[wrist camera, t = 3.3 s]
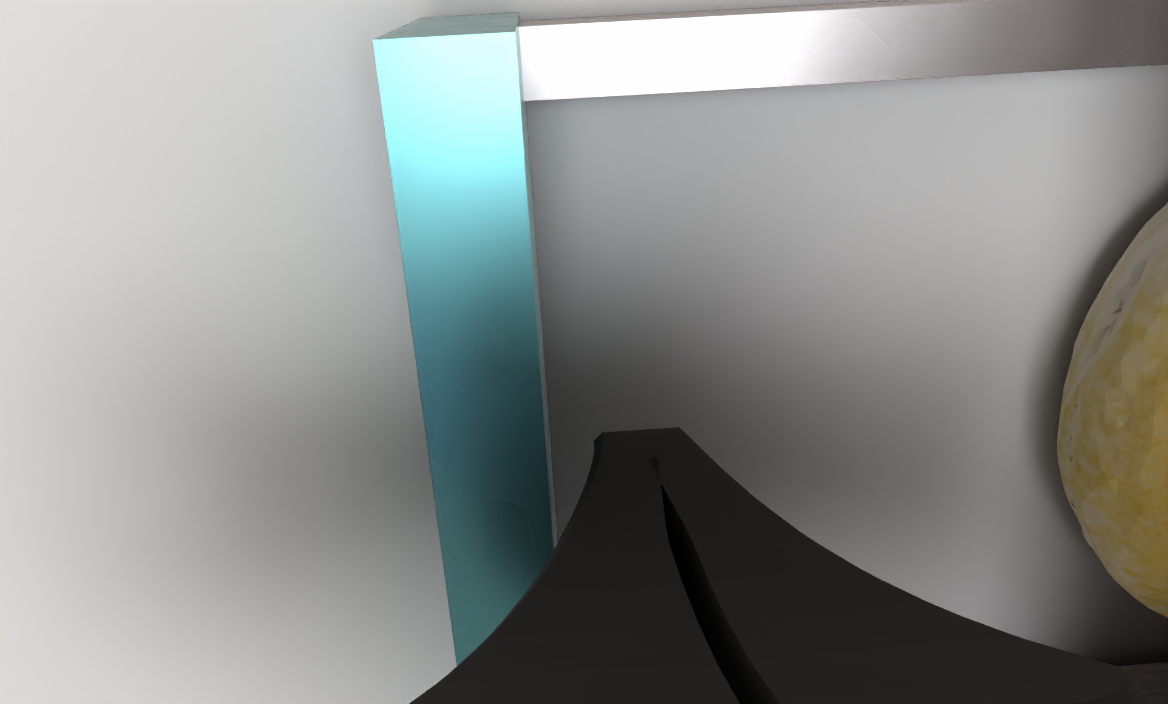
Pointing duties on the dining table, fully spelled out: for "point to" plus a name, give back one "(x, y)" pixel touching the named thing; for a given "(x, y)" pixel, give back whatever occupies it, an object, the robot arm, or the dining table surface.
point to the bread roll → (1123, 420)
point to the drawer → (506, 216)
